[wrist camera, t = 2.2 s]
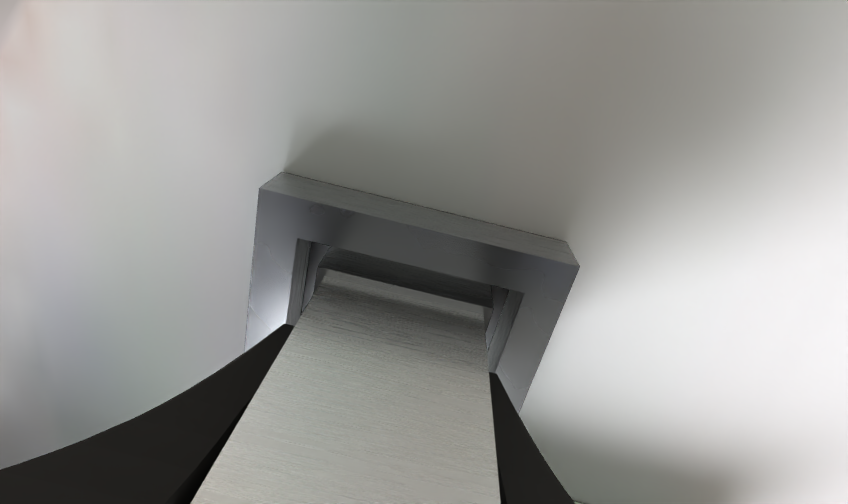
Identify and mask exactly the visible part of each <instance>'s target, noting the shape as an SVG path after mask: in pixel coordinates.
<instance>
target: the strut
mask: <svg viewBox="0 0 848 504" xmlns="http://www.w3.org/2000/svg"><path fill="white" fill-rule="evenodd" d="M493 310H494V308H493V300H492V292H491V285H490V284H485V283H481V282H477V281H473V280H469V279H465V278H461V277H457V276H452V275H448V274H444V273H440V272H436V271H432V270H428V269H423V268H419V267H415V266H411V265H407V264H403V263H399V262H395V261H390V260H386V259H382V258H378V257H374V256H370V255H366V254H361V253H357V252H353V251H349V250H345V249H341V248H337V247H333V246H331V247H330V248H329V250H328V252H327V253H326V255H325V256H324V258H323V259H322V261H321V262H320V264H319V266H318V268H317V275H316V281H315V287H314V294H313V296H312V298H311V300H310V302H309V303H308V305H307V307H306V308H305V310H304V312H303V313H302V315H301V317H300V319H299V320H298V322H297V324H296V325H295V327H294V329H293V330H292V332H291V334H290V335H289V337H288V339H287V341H286V342H285V344H284V346H283V347H282V349H281V351H280V352H279V354H278V356H277V358H276V359H275V361H274V363H273V364H272V366H271V368H270V369H269V371H268V373H267V375H266V376H265V378H264V380H263V381H262V383H261V385H260V386H259V388H258V390H257V392H256V393H255V395H254V397H253V398H252V400H251V402H250V403H249V405H248V407H247V408H246V410H245V412H244V414H243V415H242V417H241V419H240V420H239V422H238V424H237V425H236V427H235V429H234V431H233V432H232V434H231V436H230V437H229V439H228V441H227V442H226V444H225V446H224V448H223V449H222V451H221V453H220V454H219V456H218V458H217V459H216V461H215V463H214V464H213V466H212V468H211V470H210V471H209V473H208V475H207V476H206V478H205V480H204V481H203V483H202V485H201V487H200V488H199V490H198V492H197V493H196V495H195V497H194V498H193V500H192V502H191V504H501V502H500V491H499V480H498V468H497V457H496V446H495V435H494V424H493V413H492V402H491V391H490V380H489V369H488V358H487V347H486V336H485V333H486V330H487V327H488V324H489V321H490V318H491V315H492V313H493Z"/></svg>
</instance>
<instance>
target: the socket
mask: <svg viewBox="0 0 848 504" xmlns="http://www.w3.org/2000/svg"><path fill="white" fill-rule="evenodd" d="M311 241H312V242H316V243H320V244H324V245H328V246H333V247H337V248H341V249H345V250H349V251H353V252H357V253H361V254H366V255H370V256H374V257H378V258H382V259H386V260H390V261H395V262H399V263H403V264H407V265H411V266H415V267H419V268H423V269H428V270H432V271H436V272H440V273H444V274H448V275H452V276H457V277H461V278H465V279H469V280H473V281H477V282H481V283H485V284H490V285H494V286H498V287H502V288H506V289H510V290H509V292H508V295H507V298H506V301H505V304H504V307H503V309H502V312H501V315H500V318H499V321H498V323H497V326H496V329H495V332H494V335H493V338H492V340H491V343H490V346H489V349H488V352H487V358H488V369H489V372H492V373H496V374H497V375H498V377H499V378H500V380H501V382H502V384H503V386H504V388H505V390H506V392H507V394H508V396H509V398H510V400H511V402H512V404H513V406H514V407H515V409H516V411H517V413H518V414H519V412H520V409H521V407H522V404H523V402H524V400H525V397H526V395H527V392H528V390H529V388H530V385H531V383H532V380H533V378H534V376H535V373H536V371H537V368H538V366H539V364H540V361H541V359H542V356H543V354H544V352H545V349H546V347H547V344H548V342H549V340H550V337H551V335H552V332H553V330H554V328H555V325H556V323H557V320H558V318H559V316H560V313H561V311H562V308H563V306H564V304H565V301H566V299H567V296H568V294H569V291H570V289H571V287H572V284H573V282H574V279H575V277H576V275H577V272H578V270H579V267H580V266H579V264H578V262H577V260H576V259H575V257H574V255H573V253H572V251H571V249H570V248H569V246H568V244H567V242H564V241H560V240H556V239H552V238H548V237H544V236H540V235H536V234H532V233H528V232H524V231H520V230H516V229H512V228H508V227H503V226H499V225H495V224H491V223H487V222H483V221H479V220H475V219H471V218H467V217H463V216H459V215H455V214H451V213H447V212H443V211H438V210H434V209H430V208H426V207H422V206H418V205H414V204H410V203H406V202H402V201H398V200H394V199H390V198H386V197H382V196H378V195H373V194H369V193H365V192H361V191H357V190H353V189H349V188H345V187H341V186H337V185H333V184H329V183H325V182H321V181H317V180H312V179H308V178H304V177H300V176H296V175H292V174H288V173H284V172H281V173H280V174H278V175H277V176H276V177H274V178H273V179H271V180H270V181H268V182H267V183H266V184H264V185H263V186H261V187H260V188H259V195H258V206H257V217H256V228H255V239H254V251H253V262H252V273H251V284H250V295H249V306H248V317H247V328H246V340H245V351H244V353H245V352H246V351H248V350H249V349H250V348H252V347H253V346H255V345H256V344H257V343H259V342H260V341H261V340H263V339H264V338H265V337H267V336H268V335H269V334H271V333H272V332H273V331H274V330H276V329H277V328H278V327H280V326H281V325H283V324H289V325H293V326H295V325H296V324H297V322H298V320H299V319H300V316H301V309H302V302H303V295H304V288H305V281H306V274H307V268H308V261H309V254H310V247H311Z"/></svg>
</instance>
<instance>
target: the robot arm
mask: <svg viewBox="0 0 848 504" xmlns="http://www.w3.org/2000/svg"><path fill="white" fill-rule="evenodd" d="M294 327H295V326H293V325H289V324H283V325H281V326H280V327H278V328H277V329H276V330H274V331H273V332H272V333H271V334H269V335H268V336H267V337H265V338H264V339H263V340H261V341H260V342H259V343H257V344H256V345H255V346H253V347H252V348H250V349H249V350H248V351H246V352H245V353H244V354H242V355H241V356H239V357H238V358H236V359H235V360H233V361H232V362H230V363H229V364H228V365H226V366H225V367H223V368H222V369H220V370H219V371H217V372H216V373H214V374H212V375H211V376H209V377H207V378H206V379H204V380H203V381H201V382H199V383H198V384H196V385H194V386H193V387H191V388H190V389H188V390H186V391H185V392H183V393H181V394H179V395H178V396H176V397H174V398H172V399H170V400H169V401H167V402H165V403H163V404H161V405H159V406H157V407H155V408H153V409H151V410H149V411H147V412H145V413H144V414H142V415H140V416H137V417H135V418H133V419H131V420H129V421H127V422H124V423H122V424H120V425H117V426H115V427H113V428H110V429H108V430H106V431H104V432H101V433H99V434H97V435H94V436H92V437H90V438H87V439H85V440H83V441H80V442H78V443H75V444H72V445H70V446H67V447H64V448H62V449H59V450H56V451H54V452H51V453H48V454H46V455H43V456H40V457H37V458H34V459H31V460H28V461H26V462H23V463H20V464H17V465H14V466H11V467H8V468H5V469H2V470H0V504H191V502H192V500H193V498H194V497H195V495H196V493H197V492H198V490H199V488H200V487H201V485H202V483H203V481H204V480H205V478H206V476H207V475H208V473H209V471H210V470H211V468H212V466H213V464H214V463H215V461H216V459H217V458H218V456H219V454H220V453H221V451H222V449H223V448H224V446H225V444H226V442H227V441H228V439H229V437H230V436H231V434H232V432H233V431H234V429H235V427H236V425H237V424H238V422H239V420H240V419H241V417H242V415H243V414H244V412H245V410H246V408H247V407H248V405H249V403H250V402H251V400H252V398H253V397H254V395H255V393H256V392H257V390H258V388H259V386H260V385H261V383H262V381H263V380H264V378H265V376H266V375H267V373H268V371H269V369H270V368H271V366H272V364H273V363H274V361H275V359H276V358H277V356H278V354H279V352H280V351H281V349H282V347H283V346H284V344H285V342H286V341H287V339H288V337H289V335H290V334H291V332H292V330H293V329H294ZM489 380H490V391H491V402H492V413H493V424H494V435H495V446H496V457H497V468H498V480H499V491H500V502H501V504H575V503H574V501H573V500H572V499H571V497H570V496H569V495H568V493H567V492H566V491H565V489H564V488H563V486H562V485H561V484H560V482H559V481H558V479H557V478H556V476H555V475H554V473H553V472H552V470H551V469H550V467H549V466H548V464H547V463H546V461H545V460H544V458H543V456H542V455H541V453H540V451H539V450H538V448H537V447H536V445H535V443H534V441H533V440H532V438H531V436H530V434H529V433H528V431H527V429H526V428H525V426H524V424H523V422H522V420H521V419H520V417H519V415H518V413H517V411H516V409H515V407H514V406H513V404H512V402H511V400H510V398H509V396H508V394H507V392H506V390H505V388H504V386H503V384H502V382H501V380H500V378H499V377H498V375H497V374H496V373H492V372H489Z"/></svg>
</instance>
